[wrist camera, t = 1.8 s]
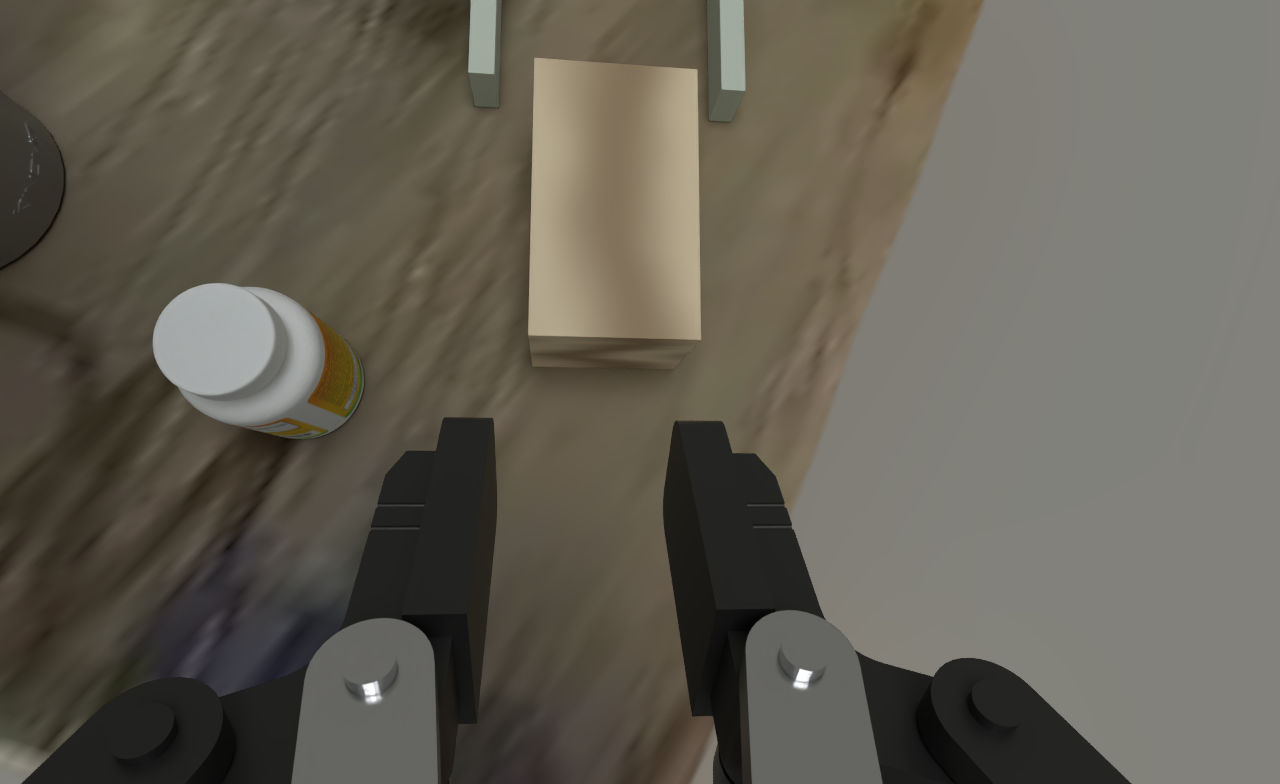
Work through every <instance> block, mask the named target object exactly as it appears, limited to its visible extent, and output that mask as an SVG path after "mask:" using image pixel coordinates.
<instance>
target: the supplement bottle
mask: <svg viewBox="0 0 1280 784" xmlns="http://www.w3.org/2000/svg"><path fill="white" fill-rule="evenodd" d="M153 352H154V356H155V359H156V361H157V364H158V366H159V368H160V369H161V371H162V372H163V374H164V375H165V376H166V377H167V378H168V379H169V380H170V381H171V382H172V383H173V384H175V385H176V386H178V388H179V390H180V391H181V393H182V394H183V396H184V397H185V398H186V399H187V400H188V402H189V403H191V404H192V405H193V406H194V407H195V408H196V409H198V410H199V411H200V412H202V413H204V414H205V415H207V416H209V417H211V418H213V419H216V420H218V421H221V422H224V423H227V424H230V425H234V426H239V427H243V428H247V429H252V430H256V431H260V432H264V433H268V434H272V435H277V436H281V437H285V438H292V439H310V438H315V437H319V436H322V435H325V434H328V433H330V432H332V431H334V430H335V429H337V428H338V427H340V426H341V425H342V424H344V423H345V422H346V421H347V420H348V419H349V418H350V416H351V415H352V414H353V412H354V411H355V409H356V408H357V406H358V404H359V401H360V399H361V396H362V392H363V387H364V373H363V368H362V365H361V362H360V359H359V357H358V355H357V353H356V352H355V350H354V349H353V348H352V346H351V345H350V344H349V343H348V342H347V341H346V340H345V339H344V338H343V337H342V336H341V335H339V334H338V333H337V332H335V331H334V330H333V329H331V328H330V327H329V326H327V325H326V324H325V323H323V322H322V321H321V320H320V319H318V318H317V317H316V316H314V315H313V314H312V313H310V312H309V311H308V310H307V309H305V308H304V307H303V306H302V305H300V304H299V303H297V302H296V301H294V300H293V299H291V298H289V297H287V296H285V295H283V294H281V293H279V292H276V291H273V290H270V289H266V288H260V287H238V286H235V285H231V284H224V283H212V284H204V285H200V286H197V287H194V288H191V289H189V290H187V291H185V292H183V293H181V294H180V295H178V296H177V297H176V298H174V299H173V300H172V301H171V302H170V303H169V304H168V305H167V306H166V308H165V309H164V310H163V312H162V313H161V315H160V316H159V318H158V320H157V323H156V325H155V329H154V334H153Z"/></svg>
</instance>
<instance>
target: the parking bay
mask: <svg viewBox="0 0 1280 784" xmlns="http://www.w3.org/2000/svg"><path fill="white" fill-rule="evenodd" d="M501 13H502V0H471V12H470V40H469V67H468V74H469V79H470V84H471V89H472V94H473V99H474V104H475V106H478V107H495V108H499V80H500V46H501ZM707 43H708V105H709V121H723V122H731V121H732V118H733V116H734V114H735V112H736V110H737V108H738V106H739V104H740V101H741V99H742V97H743V95H744V93H745V51H744V10H743V0H707Z"/></svg>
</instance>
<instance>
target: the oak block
mask: <svg viewBox="0 0 1280 784" xmlns="http://www.w3.org/2000/svg"><path fill="white" fill-rule="evenodd" d="M528 338H529V345H530V352H531V359H532V367H579V368H626V369H674V368H675V367H676V366H677V365H678V364H679V363H680V362H681V361H682V360H683V359H684V357H685V356H686V355H687V354H688V353H689V352H690V351H691V350H692V349H693V348H694V347H695V346H696V345H697V343H698V342H699V341H700V340H701V313H700V235H699V157H698V79H697V69H684V68H669V67H655V66H641V65H627V64H613V63H599V62H585V61H571V60H557V59H543V58H535V61H534V104H533V148H532V191H531V234H530V278H529V321H528Z"/></svg>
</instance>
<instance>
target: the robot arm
mask: <svg viewBox="0 0 1280 784" xmlns="http://www.w3.org/2000/svg"><path fill="white" fill-rule="evenodd" d="M63 185H64V169H63V165H62V161H61V157H60V153H59V149H58V148H57V146H56V144H55V142H54V140H53V138H52V136H51V134H50V133H49V132H48V130H47V129H46V128H45V127H44V126H43V125H42V124H41V122H40V121H39V120H38V119H37V118H36V117H35V116H33V115H32V114H31V113H29V112H28V111H27V110H25V109H24V108H23V107H21V106H20V105H19V104H17V103H16V102H15V101H13V100H12V99H11V98H9V97H8V96H7V95H5V94H4V93H3V92H1V91H0V267H2V266H4V265H6V264H8V263H10V262H11V261H13V260H15V259H17V258H19V257H20V256H21V255H22V254H23V253H25V252H26V251H27V250H28V249H29V248H31V247H32V246H33V245H34V244H35V243H36V242H37V241H38V240H39V239H40V237H41V236H42V235H43V234H44V232H45V231H46V230H47V229H48V227H49V226H50V224H51V222H52V220H53V218H54V216H55V214H56V212H57V210H58V208H59V205H60V201H61V197H62V192H63ZM784 503H785V502H784V500H783V497H782V494H781V491H780V488H779V485H778V482H777V479H776V476H775V475H774V474H773V473H772V472H771V471H770V470H769V468H768V467H767V466H766V465H765V464H764V463H763V462H762V461H761V460H760V459H759V457H758V456H757V455H756V454H741V453H732V450H731V447H730V443H729V439H728V436H727V432H726V429H725V426H724V424H723V422H722V421H675V423H674V426H673V431H672V438H671V445H670V452H669V459H668V466H667V473H666V480H665V487H664V498H663V519H664V530H665V537H666V544H667V551H668V557H669V564H670V571H671V577H672V584H673V591H674V598H675V604H676V611H677V618H678V624H679V631H680V638H681V644H682V651H683V658H684V665H685V671H686V678H687V685H688V691H689V698H690V705H691V711H692V716H713V718H714V724H715V729H716V735H717V741H718V745H717V748H716V752H715V756H714V761H713V784H1131V783H1130V782H1129V781H1128V780H1127V779H1126V778H1125V777H1124V776H1123V775H1122V774H1121V773H1120V772H1119V771H1118V770H1117V769H1116V768H1114V767H1113V766H1112V765H1111V764H1110V763H1109V762H1108V761H1107V760H1106V759H1105V758H1104V757H1103V756H1102V755H1101V754H1100V753H1099V752H1098V751H1097V750H1096V749H1095V748H1094V747H1093V746H1092V745H1090V743H1088V741H1087V740H1085V739H1084V738H1083V737H1082V736H1081V735H1080V734H1079V733H1078V732H1077V731H1076V730H1075V729H1074V728H1073V727H1072V726H1071V725H1070V724H1069V723H1068V722H1067V721H1066V720H1065V719H1064V718H1063V717H1062V716H1061V715H1059V714H1058V713H1057V712H1056V711H1055V710H1054V709H1053V708H1052V707H1051V706H1050V705H1049V704H1048V703H1047V702H1046V701H1045V700H1044V699H1043V698H1042V697H1041V696H1040V695H1039V694H1038V693H1037V692H1036V691H1035V690H1034V689H1032V688H1031V687H1030V686H1029V685H1028V684H1027V683H1026V682H1025V681H1024V680H1022V679H1021V678H1020V677H1018V676H1017V675H1015V674H1014V673H1012V672H1011V671H1009V670H1007V669H1005V668H1004V667H1002V666H999V665H997V664H995V663H992V662H989V661H985V660H981V659H975V658H960V659H956V660H952V661H950V662H948V663H945V664H944V665H943V666H942V667H940V668H939V670H938V671H937V672H936V673H935V675H934V677H931V676H928V675H924V674H921V673H917V672H913V671H910V670H906V669H902V668H899V667H895V666H891V665H888V664H884V663H881V662H878V661H875V660H873V659H871V658H868V657H866V656H864V655H862V654H860V653H859V652H857V651H856V650H854V648H853V646H852V645H851V643H850V642H849V640H848V639H847V638H846V637H845V635H844V634H843V633H842V632H841V631H840V630H838V629H837V628H836V627H835V626H834V625H832V624H831V623H829V622H828V621H826V619H825V618H824V616H823V613H822V611H821V609H820V606H819V603H818V600H817V597H816V594H815V591H814V588H813V585H812V582H811V579H810V577H809V573H808V570H807V567H806V564H805V561H804V559H803V556H802V553H801V550H800V547H799V544H798V541H797V538H796V535H795V532H794V530H792V523H791V520H790V517H789V514H788V511H787V508H785V507H784ZM496 520H497V480H496V458H495V436H494V421H493V418H455V417H445V418H444V419H443V421H442V425H441V430H440V434H439V439H438V444H437V449H436V451H406V452H405V453H404V455H403V456H402V457H401V458H400V459H399V460H398V461H397V462H396V464H395V465H394V466H393V467H392V468H391V469H390V470H389V471H388V473H387V474H386V475H385V478H384V482H383V485H382V489H381V493H380V496H379V500H378V508H376V510H375V514H374V517H373V521H372V524H371V532H369V535H368V538H367V542H366V546H365V549H364V553H363V556H362V560H361V563H360V567H359V570H358V574H357V577H356V581H355V584H354V588H353V591H352V595H351V599H350V602H349V606H348V609H347V613H346V616H345V619H344V622H343V624H342V627H341V629H340V631H339V632H338V633H336V634H335V635H333V636H332V637H331V638H330V639H329V640H327V641H326V642H325V643H324V644H323V645H322V646H321V647H320V649H319V650H318V651H317V652H316V654H315V655H314V657H313V658H312V660H311V662H310V663H308V664H307V665H305V666H304V667H302V668H301V669H299V670H297V671H295V672H293V673H291V674H289V675H287V676H284V677H281V678H279V679H276V680H273V681H270V682H267V683H264V684H260V685H257V686H254V687H251V688H247V689H244V690H241V691H238V692H234V693H231V694H228V695H225V696H222V697H218V696H217V694H216V692H215V691H214V690H213V689H211V688H210V687H209V686H208V685H206V684H204V683H203V682H201V681H198V680H195V679H191V678H183V677H172V678H164V679H158V680H154V681H150V682H147V683H144V684H141V685H139V686H136V687H134V688H132V689H130V690H128V691H126V692H124V693H122V694H120V695H119V696H117V697H116V698H114V699H113V700H111V701H110V702H108V703H107V704H105V705H104V706H103V707H102V708H101V709H100V710H98V711H97V712H96V713H95V714H94V715H93V716H92V717H91V718H90V719H88V720H87V721H86V722H85V723H84V724H83V725H82V726H81V727H80V728H79V729H78V730H77V731H76V732H75V733H74V734H73V735H72V736H71V737H70V738H69V739H68V740H67V741H65V742H64V743H63V744H62V745H61V746H60V747H59V748H58V749H57V750H56V751H55V752H54V753H53V754H52V755H51V756H50V757H49V758H48V759H47V760H46V761H45V762H44V763H42V764H41V765H40V766H39V767H38V768H37V769H36V770H35V771H34V772H33V773H32V774H31V775H30V776H29V777H28V778H27V779H26V780H25V781H24V782H23V783H22V784H451V772H452V767H453V762H454V753H455V745H456V737H457V728H458V724H476V723H477V716H478V706H479V696H480V686H481V676H482V665H483V655H484V645H485V635H486V625H487V615H488V604H489V594H490V584H491V574H492V564H493V554H494V543H495V533H496Z"/></svg>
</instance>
